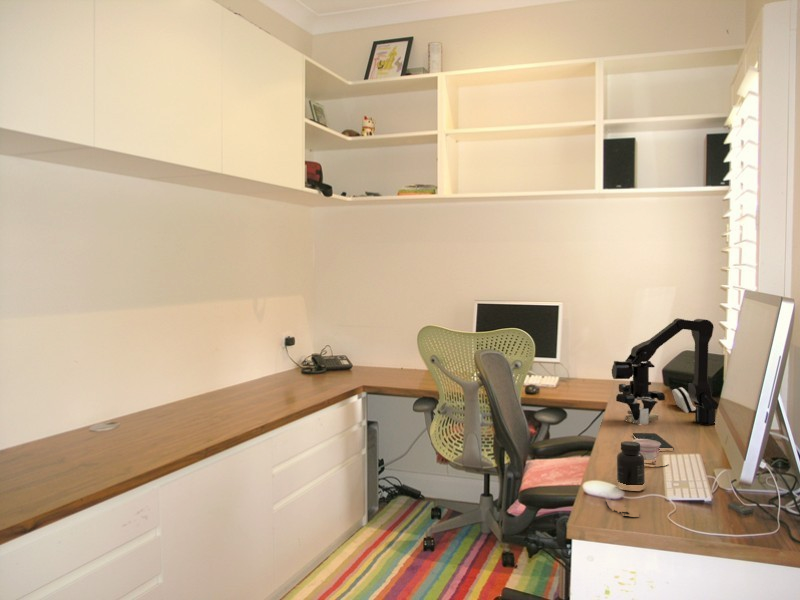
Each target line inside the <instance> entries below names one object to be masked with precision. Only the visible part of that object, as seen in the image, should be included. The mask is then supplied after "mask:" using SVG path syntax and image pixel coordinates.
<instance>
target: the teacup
mask: <svg viewBox="0 0 800 600" xmlns="http://www.w3.org/2000/svg"><path fill="white" fill-rule="evenodd" d="M632 442H637V443H640V452H639V453H641V454H642V455H643V456H644V460H654V459H656V458H657V457H659V455H660V452H661V451H659V450H660V449H659V447H660V445H661V443H660V442H658V441H654V440H649V439H635V438H633V440H632Z"/></svg>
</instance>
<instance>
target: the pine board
mask: <svg viewBox="0 0 800 600" xmlns="http://www.w3.org/2000/svg"><path fill="white" fill-rule="evenodd" d="M624 418H625V420H627V421H626V422H628V421H630V422H629V423H631V422H633V415H631V414H628V415H625V417H624ZM651 420H652V421H658V420H659V414H657V413H654V412H650V414H649V416H648V422H650V421H651Z"/></svg>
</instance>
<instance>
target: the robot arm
mask: <svg viewBox="0 0 800 600" xmlns="http://www.w3.org/2000/svg"><path fill="white" fill-rule="evenodd" d="M682 330H683V331H684V330H687V331H690V332H691V336H692V338H693V341H694V369H693V371H694V372H693V380H692V382H691V383H687V387H688V388H687V389H688V391H687V393H688V395H689V397H690V400H691V401H692V403H693V405H695V408H696V410H695V411H694V412H695V413H694V414H695V415H694V416H695V417H694V418H695V420H692V423H695V424H700V425H702V426H712V425H715V424H714V422H716V410H717V409H718V407H719V403H718V402H717V401H716V400H715V399H714V398H713V396H712V389H711V386H710V383H709V380H708V378H709V377H708V375H709V374H708V373H709V368H708V367H709V343H710V340H711V339H712V337H713V334H714V333H713V332H714V324H713V322H711V320H708V319H704V318H696V319H694V320H691V319H690V320H688V319H684V318H675V319H674V320H672V322H671V323H669V324H668V325H667V326H665V327H664V328H663V329H661V330H660V331H659V332H658V333H656V334H654V335H653V336H652V337H651V338H649V339H648V340H644V341H643V342H641V343H638V344H636V345H635V346H633V347H632V348H631V350H630V354H629V355H628V356H627V358H626V359H625V361H618V360H614V361H613V364H612V368H611V376H612V378H613V379H614V380H629V379H630V378H632V380H630V381H629V384H627V385H626V383H620V384H618V392H619V393H618V394H616V396H615V397H616V398H615V401H616V402H619V403H622V404H626V405H627V406H628V407H629V410H630V411H631V412H632V415H633V417H634V420H637V418H638V413H639V407H641V403H642V404H643V406H642V407H644V408H648V409H649V412H648V416H649V414H650V413H652V410H653V409H654V408H655V405H656V404H658V401H659V402H660V401H665V400H666V396H665V394H664V392H661V391H657V390H650V389H649V388H650V386H651V385H652V382H651V381H650V378H649V377H650V371H649V370H650V368H655V365H654V364H653V363H652V362H651V361H650V359H651V358H652V357H653V356H654V355H655V354H656V352H657V350H659V348H660V347H662V346H663V345H665V344H666V343H667V342H668V341H670V339H672V338H673V337H674V336H675V335H677V334H678V333H680V332H681V331H682ZM649 390H650V391H649ZM656 399H657V400H656ZM639 400H640V401H641V402H638V401H639ZM711 424H712V425H711Z"/></svg>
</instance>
